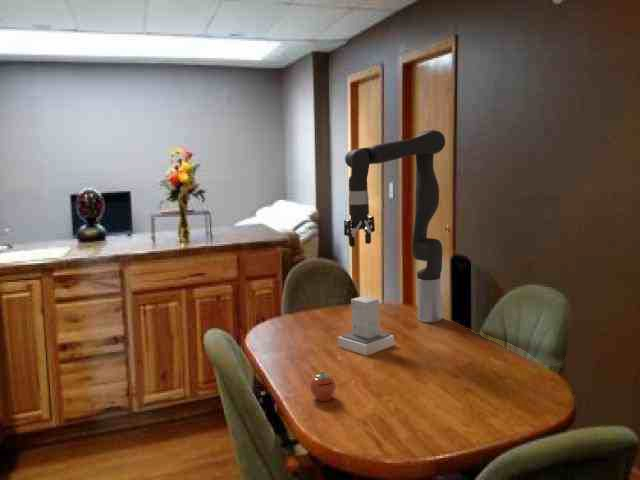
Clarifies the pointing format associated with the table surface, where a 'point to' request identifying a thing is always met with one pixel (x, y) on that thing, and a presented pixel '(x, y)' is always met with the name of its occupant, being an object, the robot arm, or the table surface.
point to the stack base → (365, 343)
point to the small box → (365, 317)
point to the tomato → (322, 387)
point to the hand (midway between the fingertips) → (360, 245)
